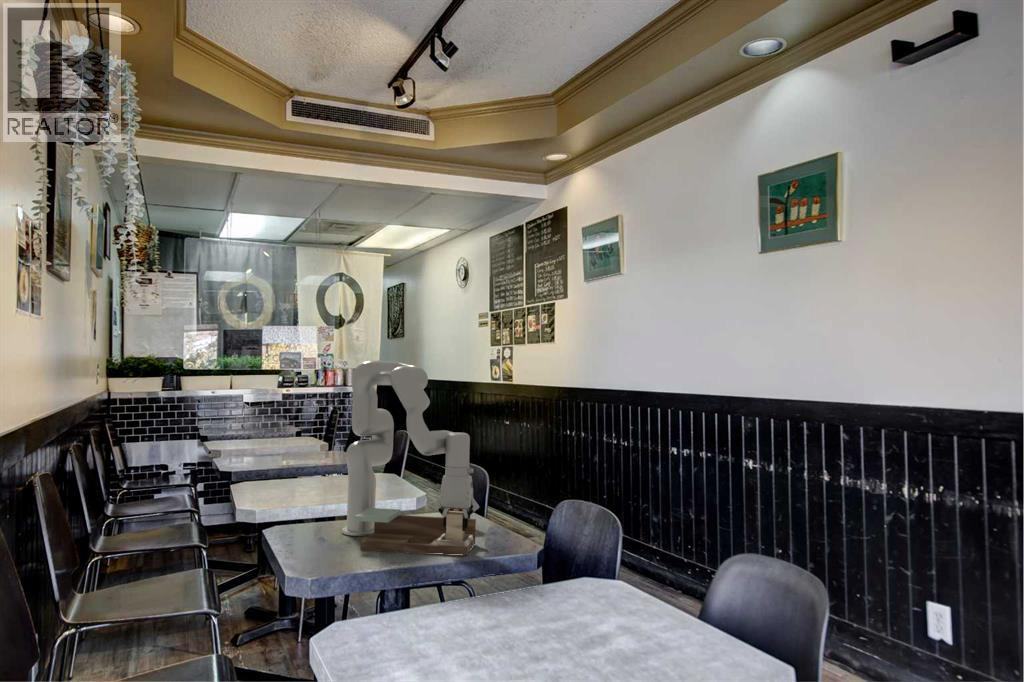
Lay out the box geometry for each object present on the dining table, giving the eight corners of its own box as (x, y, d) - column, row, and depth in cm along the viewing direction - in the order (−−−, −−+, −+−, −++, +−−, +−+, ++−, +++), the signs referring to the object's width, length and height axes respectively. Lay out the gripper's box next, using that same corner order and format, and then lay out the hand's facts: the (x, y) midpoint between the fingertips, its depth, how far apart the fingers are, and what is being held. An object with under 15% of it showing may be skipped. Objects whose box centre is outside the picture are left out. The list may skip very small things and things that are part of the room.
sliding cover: (368, 512, 220) (368, 507, 220) (400, 514, 218) (400, 509, 218) (354, 520, 207) (354, 515, 207) (388, 522, 205) (388, 517, 205)
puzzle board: (374, 538, 219) (375, 513, 219) (475, 544, 214) (475, 518, 215) (360, 549, 205) (360, 522, 205) (466, 556, 201) (467, 528, 201)
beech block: (449, 536, 210) (450, 511, 210) (464, 537, 209) (465, 511, 210) (445, 540, 205) (446, 514, 206) (461, 541, 204) (462, 515, 205)
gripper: (485, 471, 211) (484, 528, 210) (433, 469, 213) (432, 525, 212) (481, 474, 204) (480, 534, 203) (428, 472, 206) (426, 531, 205)
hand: (455, 529), depth 207 cm, fingers closed on beech block, 5 cm apart
